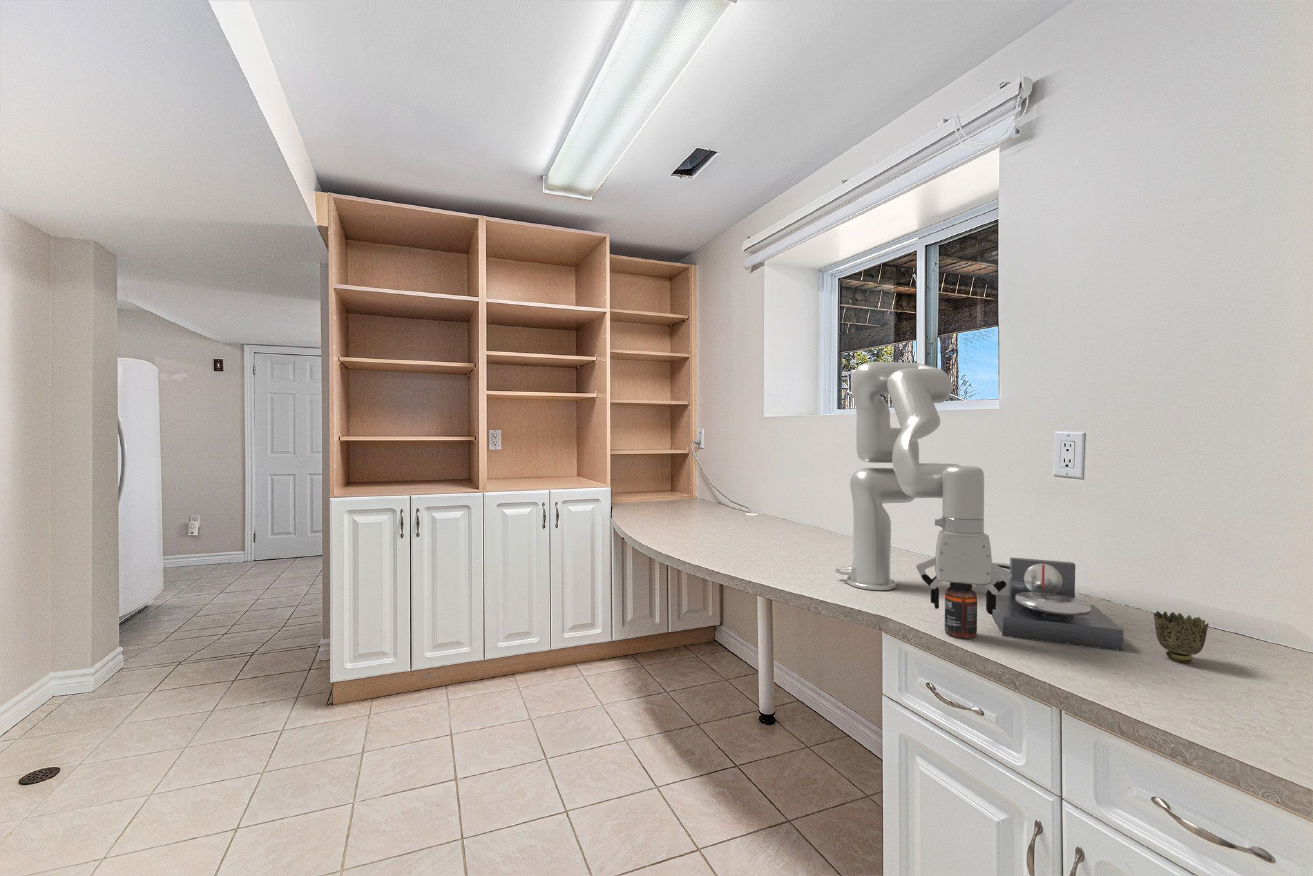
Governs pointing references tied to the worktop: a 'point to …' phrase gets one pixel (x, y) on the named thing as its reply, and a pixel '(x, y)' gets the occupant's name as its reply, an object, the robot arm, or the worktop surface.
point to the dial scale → (1052, 607)
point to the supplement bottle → (961, 611)
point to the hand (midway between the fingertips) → (962, 609)
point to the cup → (1180, 635)
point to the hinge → (996, 578)
